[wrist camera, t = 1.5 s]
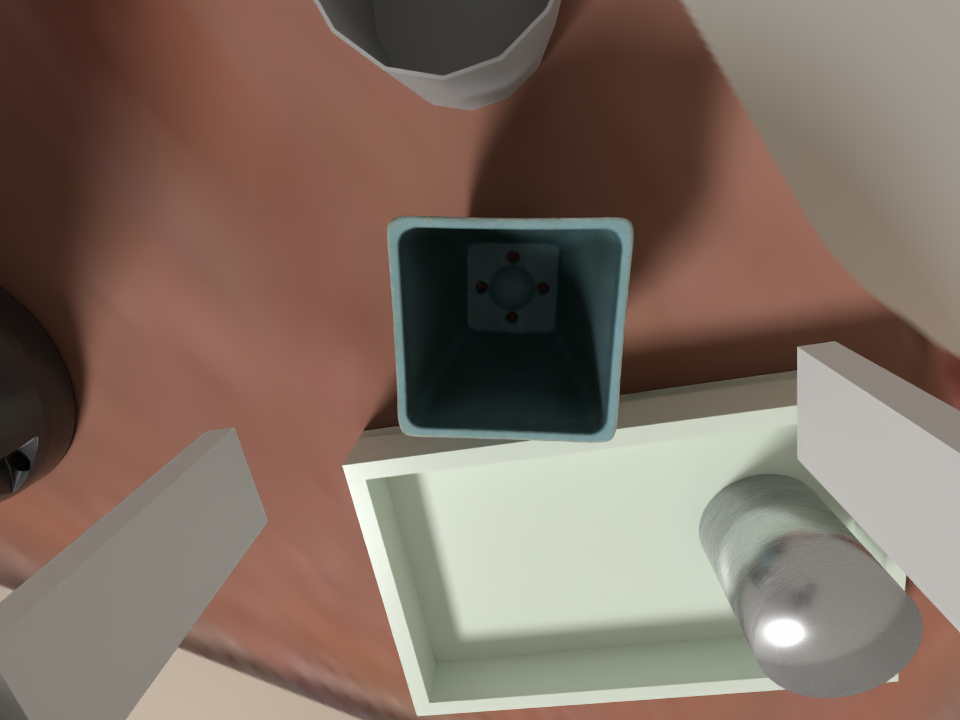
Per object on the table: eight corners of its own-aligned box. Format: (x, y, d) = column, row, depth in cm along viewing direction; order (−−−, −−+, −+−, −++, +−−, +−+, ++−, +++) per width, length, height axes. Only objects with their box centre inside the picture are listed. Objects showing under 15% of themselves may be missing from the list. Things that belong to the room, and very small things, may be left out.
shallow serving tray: (427, 661, 38) (417, 716, 34) (362, 431, 33) (342, 465, 29) (857, 625, 35) (897, 681, 31) (868, 360, 29) (920, 388, 25)
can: (701, 581, 33) (755, 703, 26) (695, 482, 31) (751, 583, 24) (824, 569, 32) (916, 691, 25) (826, 466, 30) (928, 566, 23)
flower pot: (431, 364, 31) (397, 438, 22) (425, 200, 28) (384, 216, 20) (589, 367, 30) (616, 445, 22) (600, 201, 27) (636, 216, 19)
